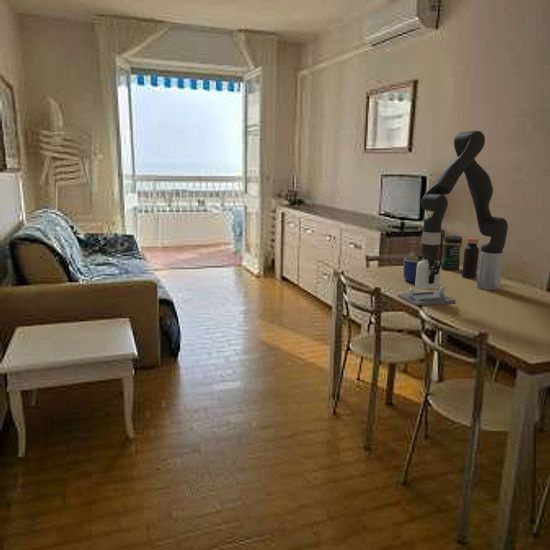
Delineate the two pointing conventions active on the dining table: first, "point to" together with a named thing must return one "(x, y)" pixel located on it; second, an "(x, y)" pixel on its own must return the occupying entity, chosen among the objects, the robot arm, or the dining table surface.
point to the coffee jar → (451, 252)
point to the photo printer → (425, 277)
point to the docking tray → (426, 297)
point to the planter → (410, 268)
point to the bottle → (470, 259)
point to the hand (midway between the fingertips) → (427, 281)
